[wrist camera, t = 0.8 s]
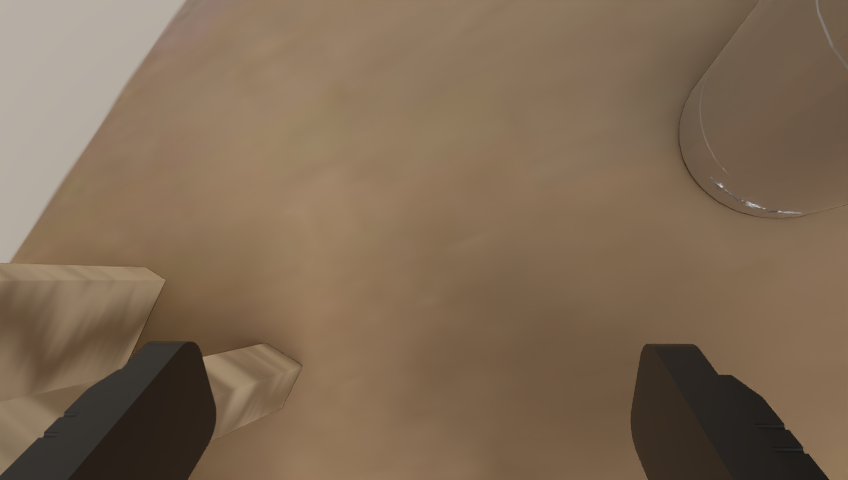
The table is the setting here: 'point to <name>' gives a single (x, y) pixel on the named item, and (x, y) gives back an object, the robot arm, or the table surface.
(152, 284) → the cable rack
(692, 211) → the table surface
